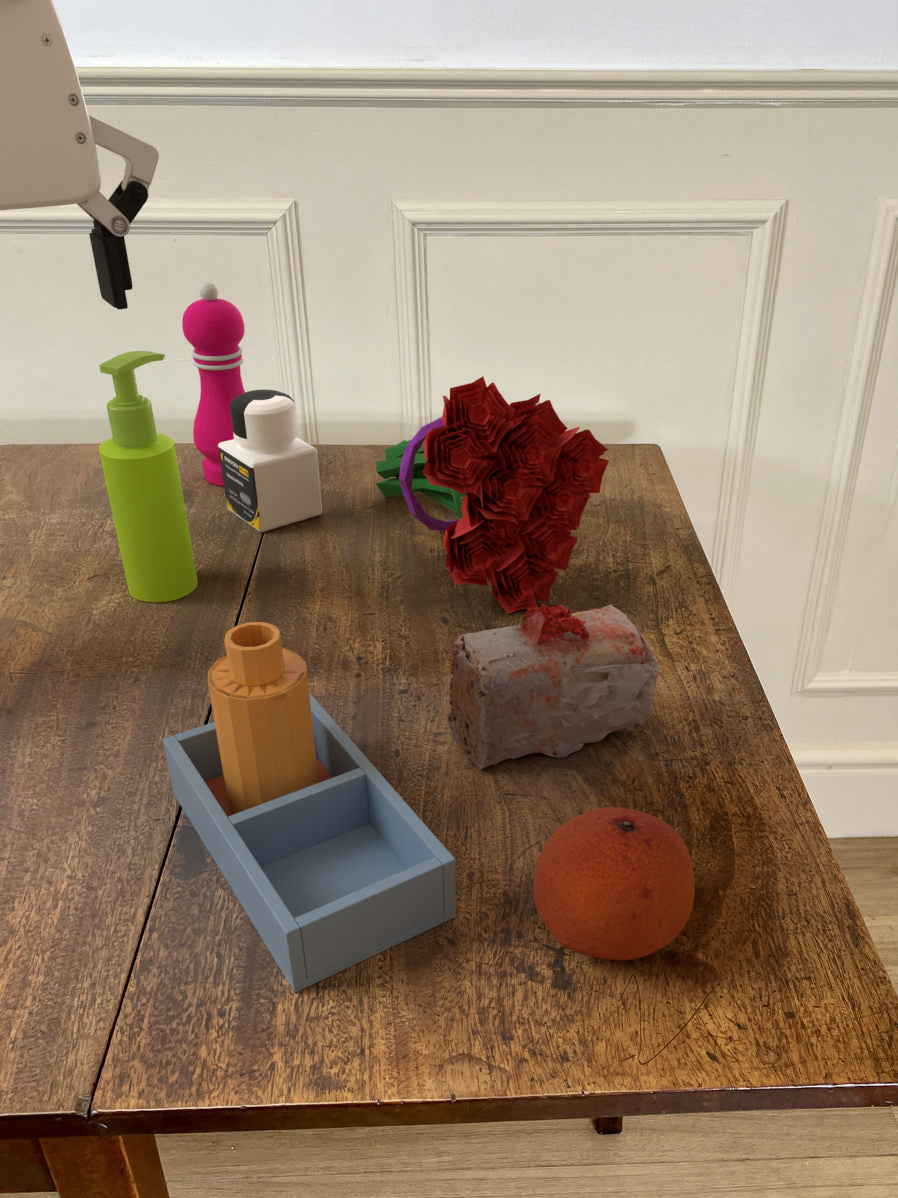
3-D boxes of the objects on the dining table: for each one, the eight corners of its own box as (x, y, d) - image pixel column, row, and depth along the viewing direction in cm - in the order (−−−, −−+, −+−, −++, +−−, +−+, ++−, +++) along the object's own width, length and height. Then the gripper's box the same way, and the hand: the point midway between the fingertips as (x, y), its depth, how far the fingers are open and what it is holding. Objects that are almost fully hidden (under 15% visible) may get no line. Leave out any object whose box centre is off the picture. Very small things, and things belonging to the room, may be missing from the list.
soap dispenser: (218, 574, 94) (184, 351, 83) (167, 608, 89) (123, 375, 77) (167, 560, 96) (126, 341, 84) (114, 593, 90) (63, 364, 79)
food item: (605, 683, 81) (615, 570, 75) (658, 740, 75) (674, 622, 69) (441, 723, 76) (438, 606, 70) (484, 788, 70) (485, 665, 64)
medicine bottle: (225, 509, 105) (209, 393, 98) (287, 492, 109) (275, 378, 102) (260, 534, 101) (245, 414, 94) (323, 515, 105) (313, 398, 98)
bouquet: (465, 529, 117) (623, 589, 92) (328, 561, 110) (460, 636, 85) (445, 347, 109) (612, 360, 85) (296, 368, 102) (432, 390, 78)
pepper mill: (185, 478, 111) (153, 284, 100) (235, 457, 116) (209, 270, 105) (233, 494, 108) (205, 295, 97) (282, 472, 113) (261, 281, 102)
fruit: (670, 870, 64) (685, 768, 59) (698, 986, 56) (718, 880, 52) (526, 872, 63) (530, 770, 59) (535, 990, 56) (541, 883, 51)
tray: (294, 993, 55) (286, 933, 53) (173, 794, 69) (161, 738, 66) (456, 917, 60) (455, 858, 58) (314, 744, 73) (308, 690, 71)
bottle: (250, 842, 64) (223, 672, 57) (216, 791, 68) (187, 627, 61) (334, 809, 66) (318, 643, 59) (297, 762, 70) (278, 601, 63)
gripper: (105, -38, 58) (157, 284, 67) (-264, -50, 49) (-144, 319, 59) (148, -38, 52) (198, 310, 62) (-256, -51, 44) (-126, 353, 54)
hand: (31, 314), depth 60 cm, fingers open, 9 cm apart
